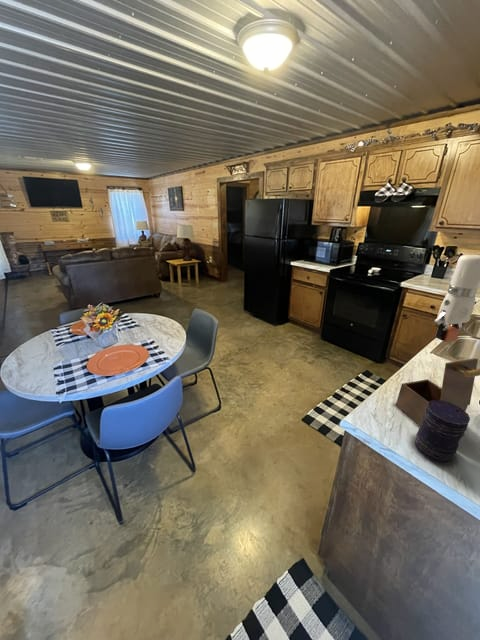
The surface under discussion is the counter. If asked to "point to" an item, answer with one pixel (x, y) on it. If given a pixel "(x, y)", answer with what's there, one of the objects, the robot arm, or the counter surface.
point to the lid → (459, 381)
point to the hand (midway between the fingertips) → (445, 337)
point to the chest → (418, 398)
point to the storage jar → (441, 431)
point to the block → (451, 333)
